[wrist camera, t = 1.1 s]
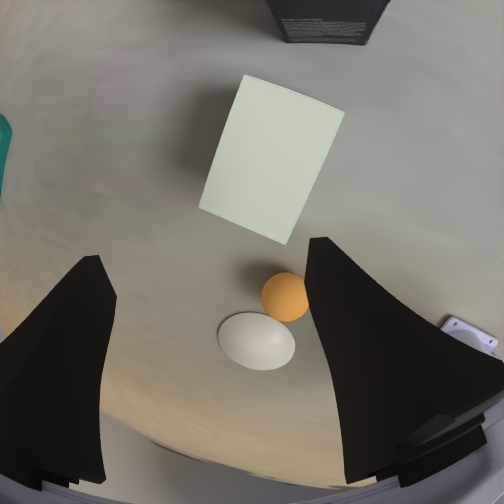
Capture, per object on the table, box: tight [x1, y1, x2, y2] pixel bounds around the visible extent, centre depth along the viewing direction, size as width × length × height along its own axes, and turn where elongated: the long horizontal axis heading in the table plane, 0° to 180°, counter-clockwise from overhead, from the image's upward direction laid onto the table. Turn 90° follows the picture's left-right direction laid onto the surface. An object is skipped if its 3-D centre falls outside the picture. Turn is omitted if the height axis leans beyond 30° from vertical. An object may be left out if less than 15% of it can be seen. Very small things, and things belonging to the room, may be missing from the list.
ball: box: [261, 272, 309, 322], centre depth 23 cm, size 4×4×4 cm
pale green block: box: [198, 75, 345, 245], centre depth 18 cm, size 6×8×6 cm
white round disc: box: [218, 312, 295, 370], centre depth 29 cm, size 8×8×1 cm
